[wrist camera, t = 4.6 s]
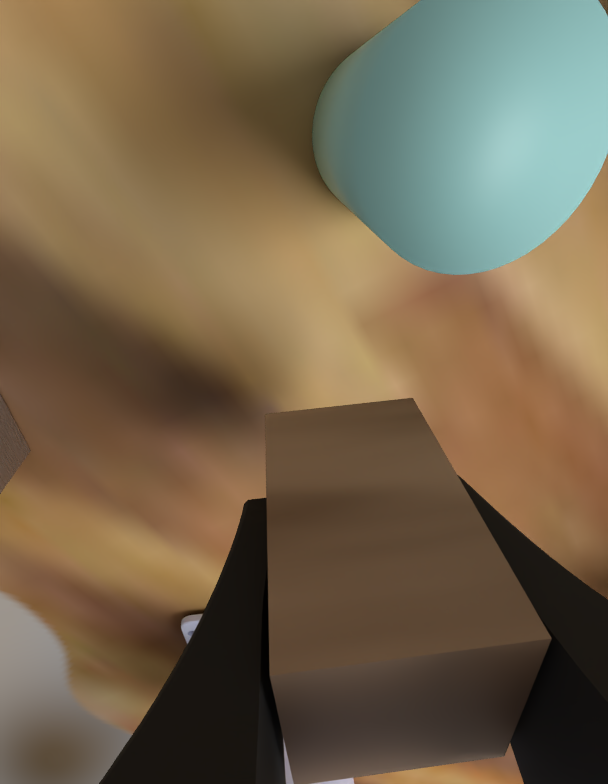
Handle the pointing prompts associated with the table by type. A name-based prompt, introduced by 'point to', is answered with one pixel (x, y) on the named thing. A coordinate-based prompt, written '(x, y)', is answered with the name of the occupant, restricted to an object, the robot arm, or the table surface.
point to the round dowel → (468, 127)
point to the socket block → (10, 446)
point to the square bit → (387, 599)
